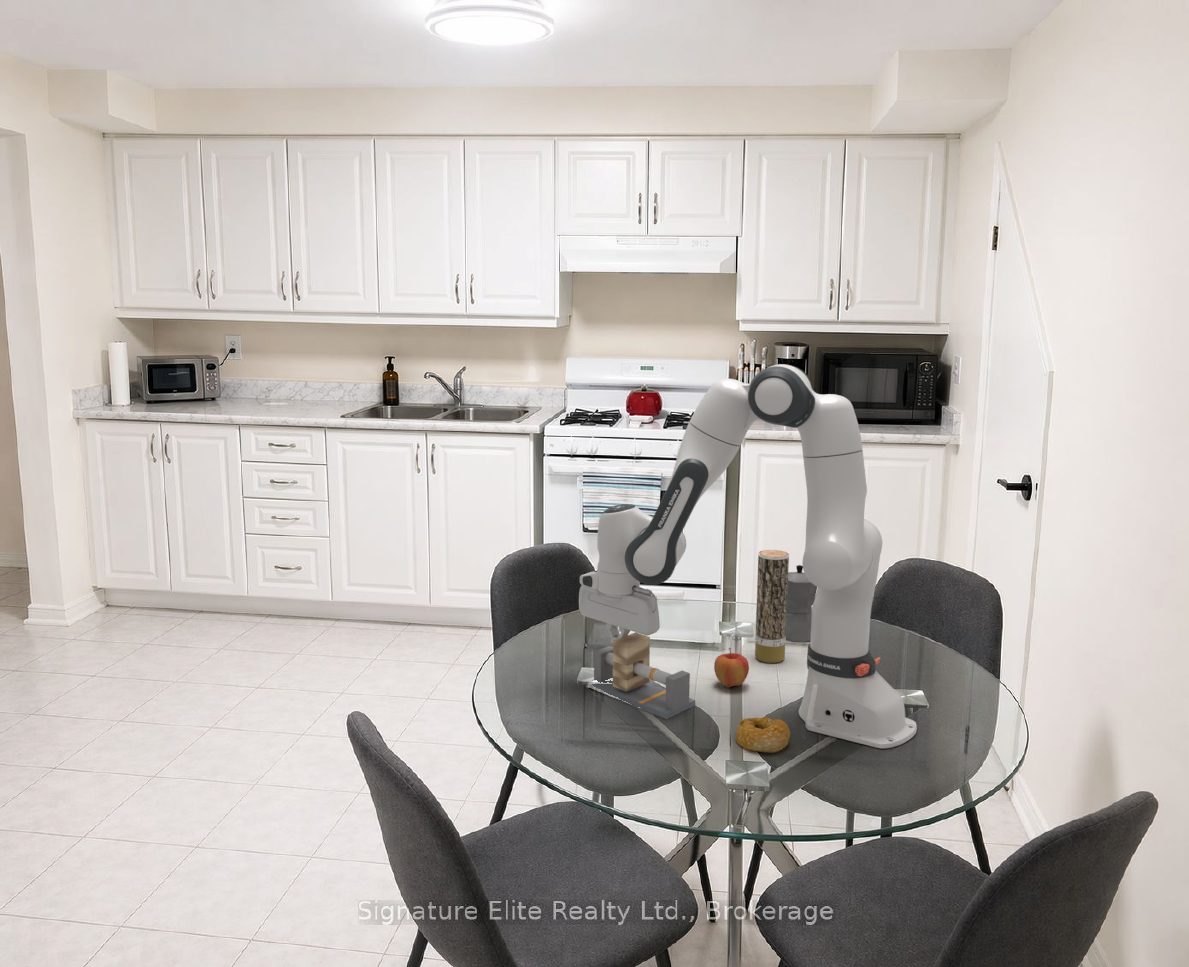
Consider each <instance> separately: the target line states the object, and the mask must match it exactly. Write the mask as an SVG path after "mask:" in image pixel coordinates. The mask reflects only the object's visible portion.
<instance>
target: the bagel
mask: <svg viewBox="0 0 1189 967" xmlns="http://www.w3.org/2000/svg"><path fill="white" fill-rule="evenodd" d="M738 724H739V726H738V727H737V729H736V730H735V734H736V735H735V739H736V742H737V745H739V746H740V747H742V748H744V749H746V750H748V751H752V752H759V753H767V754H768V753H770V754H771V753H778V752H780V751H781V750H784V749H785V748H786V747H787V746H788V744H789V740H790V738H791V731H790V727H788V724H787V723H786V722H785V721H784V720H782V719H779V718H778V719H773V718H769V717H767V716H762V717H751V718H749V717H748V718H744V719H742V720H741V721H740V722H739V723H738ZM783 748H784V749H783Z"/></svg>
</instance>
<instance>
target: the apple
mask: <svg viewBox="0 0 1189 967" xmlns="http://www.w3.org/2000/svg"><path fill="white" fill-rule="evenodd" d="M728 649H729V650H728V651H729V653H728V652H727V653H722V654H720V655H718V656H716V657H715V659H714V663H713V664H714V665H713V666H714V667H713V670H714V674H715V676H716V678H717V680H718V681H719V682H720V683H721V684H722V685H724V686H725V687H726V689H727V688H728V689H730V688H731V687H735V686H736V687H738V686H741V685H742V684H743V683H744V682H745V681H746V679H747V677H748V675H749V671H750V665H749V664H750V663H749V661H748V659H747V658H746V657H745V656H744V655H742V654H740V653H737V652H732V651H731V647H729V648H728Z"/></svg>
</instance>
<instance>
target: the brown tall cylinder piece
mask: <svg viewBox="0 0 1189 967" xmlns="http://www.w3.org/2000/svg"><path fill="white" fill-rule="evenodd" d="M789 555H790V554H789V553H788V552H787V551H783V550H778V549H765V550H764V549H763V550H759V551H758V558H757V579H756V580H757V584H756V585H757V586H756V608H755V609H756V612H755V614H756V615H755V616H756V617H755V636H754V637H755V638H754V639H755V640H754V641H755V645H754V648H755V649H754V657H755V658H756V659H757V660H758V661H759V662H762V663H767V664H777V663H781V662H783V661H784V660H785V656H786V641H787V640H786V617H787V592H788V572H789V564H790V563H789V562H790V556H789Z"/></svg>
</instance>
